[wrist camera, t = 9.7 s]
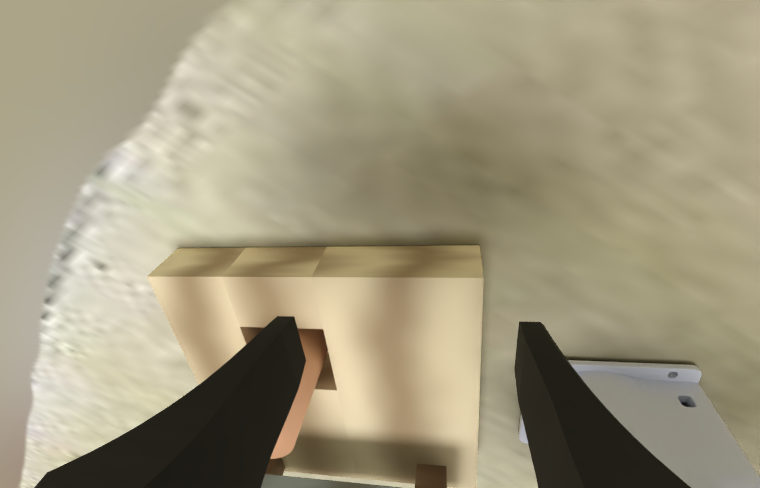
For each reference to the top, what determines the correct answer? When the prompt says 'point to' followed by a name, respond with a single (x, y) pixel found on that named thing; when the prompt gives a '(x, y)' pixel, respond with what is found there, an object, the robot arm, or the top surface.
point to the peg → (302, 389)
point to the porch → (350, 350)
